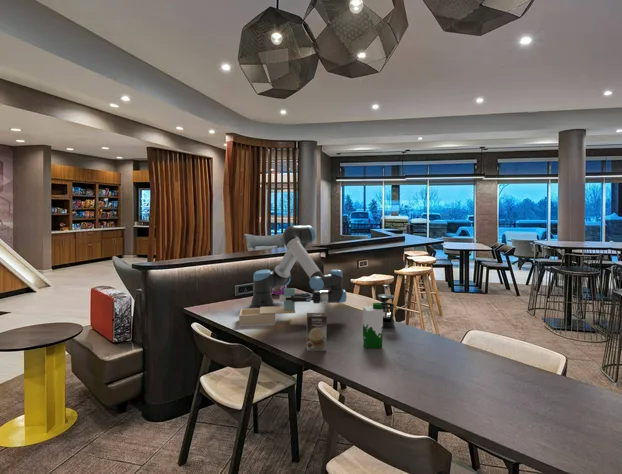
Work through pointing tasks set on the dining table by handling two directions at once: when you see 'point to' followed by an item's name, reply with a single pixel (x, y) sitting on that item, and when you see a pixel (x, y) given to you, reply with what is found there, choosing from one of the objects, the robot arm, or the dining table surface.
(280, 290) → the candy bar box
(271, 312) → the carton lid
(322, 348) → the coffee box
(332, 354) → the dining table surface
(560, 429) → the dining table surface
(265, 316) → the carton
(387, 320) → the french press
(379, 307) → the milk carton
